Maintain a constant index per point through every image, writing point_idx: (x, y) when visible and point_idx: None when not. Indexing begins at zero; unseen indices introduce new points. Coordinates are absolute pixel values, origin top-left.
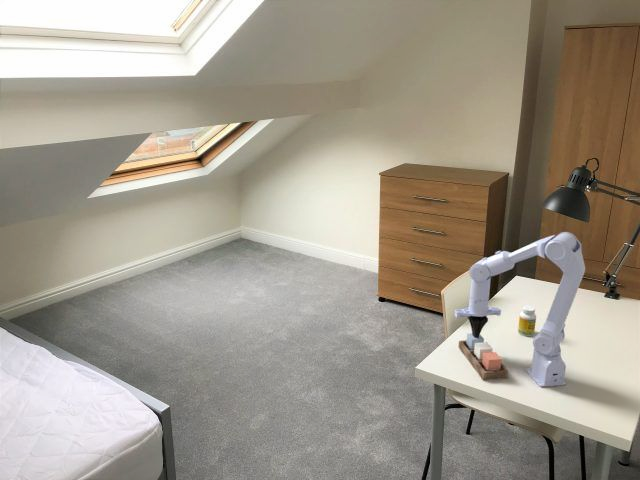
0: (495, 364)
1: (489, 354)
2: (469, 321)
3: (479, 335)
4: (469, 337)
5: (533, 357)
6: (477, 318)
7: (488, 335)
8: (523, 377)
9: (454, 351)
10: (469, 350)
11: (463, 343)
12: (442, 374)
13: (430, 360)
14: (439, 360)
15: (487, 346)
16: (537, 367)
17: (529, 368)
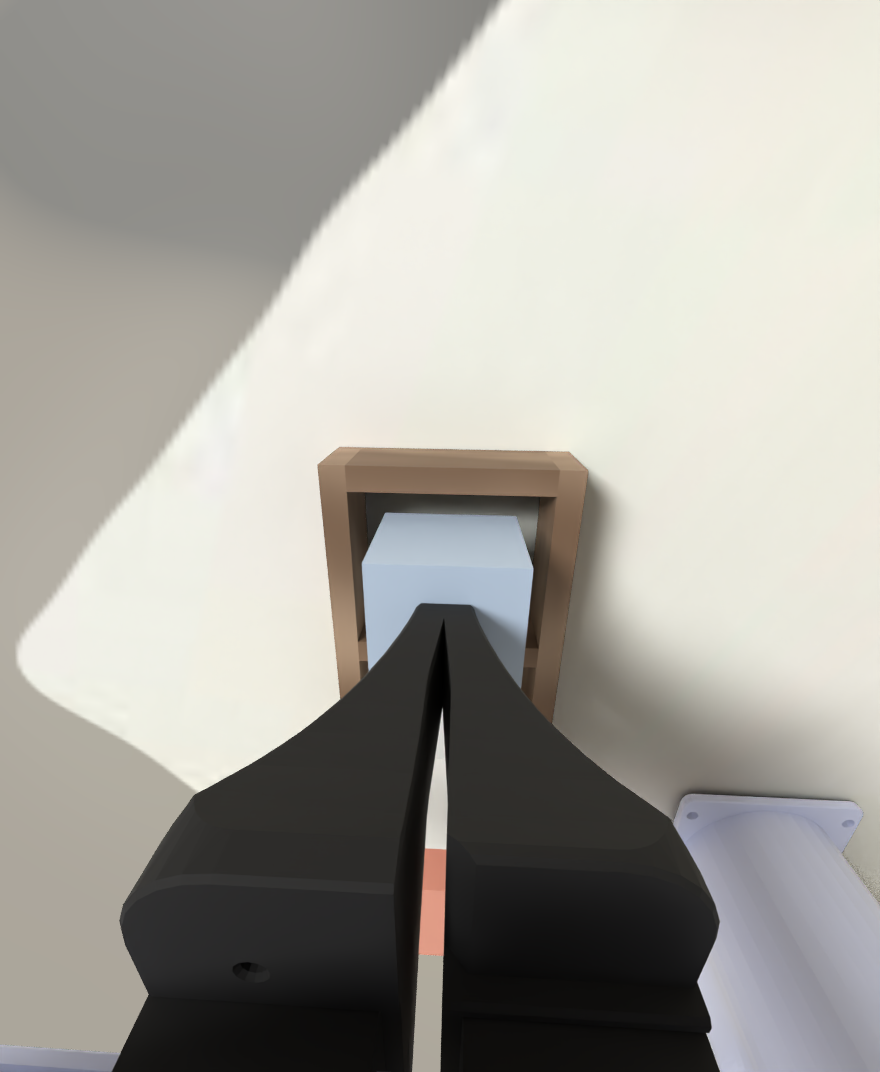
0: None
1: (427, 907)
2: (317, 721)
3: (504, 631)
4: (369, 625)
5: (751, 994)
6: (385, 1069)
7: (802, 219)
8: None
9: (284, 504)
10: (362, 647)
11: (348, 524)
12: (141, 746)
13: (67, 597)
14: (137, 608)
15: None
16: (712, 965)
17: (714, 809)
